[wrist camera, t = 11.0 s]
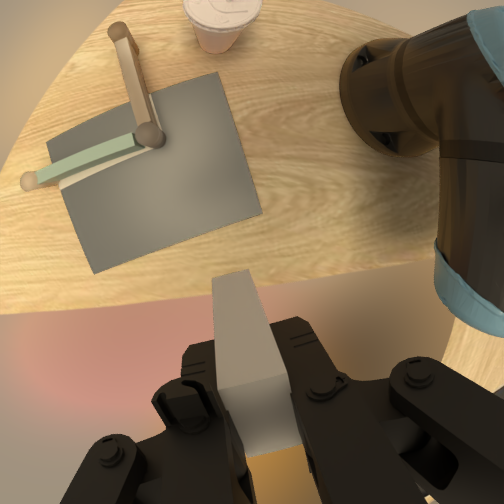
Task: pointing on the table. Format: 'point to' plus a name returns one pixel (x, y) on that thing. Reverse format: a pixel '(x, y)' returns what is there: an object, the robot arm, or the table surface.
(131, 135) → the gate panel
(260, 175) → the table surface
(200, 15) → the smoothie
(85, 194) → the card
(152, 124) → the base
